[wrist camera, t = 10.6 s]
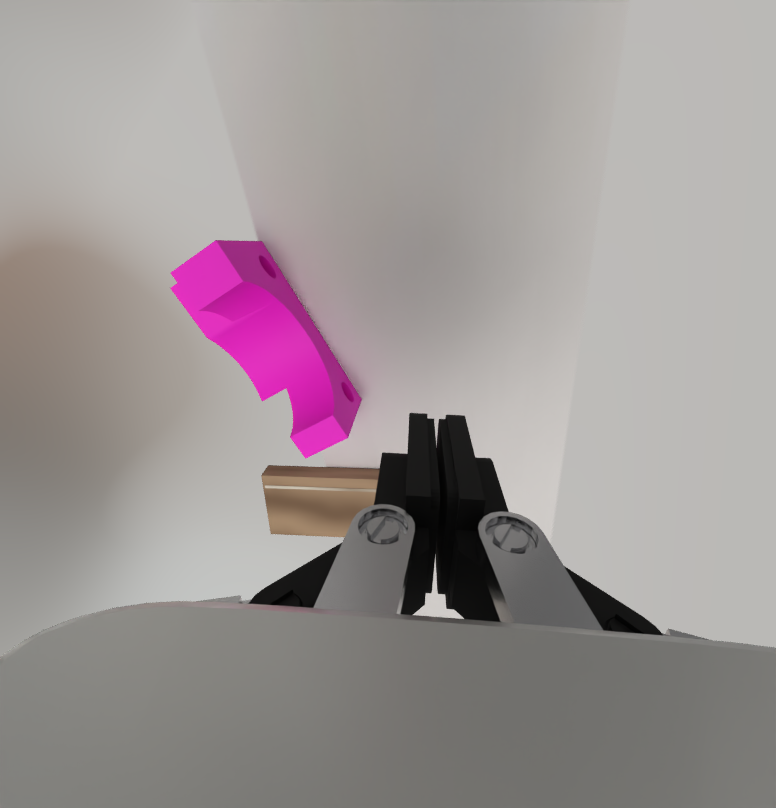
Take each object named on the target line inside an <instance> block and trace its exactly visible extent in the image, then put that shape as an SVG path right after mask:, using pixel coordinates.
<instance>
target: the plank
mask: <svg viewBox="0 0 776 808" xmlns="http://www.w3.org/2000/svg"><path fill="white" fill-rule="evenodd" d="M379 470H380V469H364V468H334V467H303V466H301V467H300V466H273V465H269V466H268V467H267V468H266V470H265V471H264V473H263V474H262V482H263V488H264V494H265V500H266V506H267V513H268V519H269V525H270V531H271V534H285V535H306V536H329V537H345V536H346V533H347V531H348V529H349V527H350V524H351V522H352V520H353V518H354V517H355V516H356V514H357V513H358V512H360V511H361V510H362V509H364V508H367V507H369V506H372V505H374V501H375V495H376V489H377V482H378V476H379Z"/></svg>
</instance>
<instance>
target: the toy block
mask: <svg viewBox="0 0 776 808" xmlns="http://www.w3.org/2000/svg"><path fill="white" fill-rule="evenodd" d="M171 274H172V276H173V277H174V278H175V280H176V281H177V284H176V285H174V286H173V287H172V288H171V290H172V291H173V292H174V294H175V295H176V297H177V298H178V299H179V301H180V302H181V303H182V305H183V306H184V307H185V308H186V310H187V311H188V313H189V314H190V316H191V317H192V318H193V320H194V321H195V322H196V324H197V325H198V326H199V328H200V329H201V330H202V332H203V333H204V334H205V336H206V337H207V338H208V339H210V340H211V341H213V342H215V343H216V344H218V345H219V346H220V347H222V348H223V349H224V350H225V351H227V352H228V353H229V354H230V355H231V356H232V357H233V358H234V359H235V360H236V361H237V362H238V363H239V364H240V366H241V367H242V368H243V369H244V370H245V372H246V373H247V374H248V376H249V378H250V379H251V381H252V382H253V384H254V386H255V387H256V389H257V391H258V393H259V396H260V398H261V400H262V401H264V400H266V399H267V398H269V397H271V396H273V395H275V394H276V393H278V392H280V391H282V390H284V389H286V388H287V391H288V394H289V397H290V401H291V405H292V410H293V429H292V433H291V436H290V438H291V439H292V440H293V442H294V443H295V444H296V446H297V447H298V449H299V450H300V451H301V453H302V454H303V456H304V457H305V458H308V457H310V456H312V455H314V454H316V453H318V452H320V451H322V450H324V449H326V448H328V447H330V446H332V445H334V444H336V443H338V442H340V441H342V440H344V439H347V438H348V436H349V433H350V431H351V428H352V425H353V422H354V419H355V417H356V414H357V411H358V408H359V405H360V403H361V400H362V399H361V398H360V396H359V395H358V393H357V391H356V390H355V388H354V387H353V385H352V383H351V382H350V380H349V379H348V377H347V376H346V374H345V372H344V371H343V369H342V368H341V366H340V364H339V363H338V361H337V360H336V358H335V357H334V355H333V353H332V352H331V350H330V349H329V347H328V345H327V344H326V342H325V341H324V339H323V337H322V336H321V334H320V333H319V331H318V330H317V328H316V326H315V325H314V323H313V322H312V320H311V318H310V317H309V315H308V314H307V312H306V310H305V309H304V307H303V306H302V304H301V303H300V301H299V299H298V298H297V296H296V295H295V293H294V291H293V290H292V288H291V287H290V285H289V284H288V282H287V280H286V279H285V277H284V276H283V274H282V272H281V271H280V269H279V268H278V266H277V264H276V263H275V261H274V260H273V258H272V257H271V255H270V253H269V252H268V250H267V249H266V247H265V245H264V244H263V242H262V241H222V240H216V241H214V242H213V243H211V244H210V245H209V246H207V247H206V248H204V249H203V250H202V251H200V252H199V253H197V254H196V255H195V256H193V257H192V258H191V259H189V260H188V261H186V262H185V263H184V264H182V265H181V266H179V267H178V268H177V269H176V270H174V271H172V272H171Z"/></svg>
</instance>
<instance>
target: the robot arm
mask: <svg viewBox="0 0 776 808" xmlns="http://www.w3.org/2000/svg"><path fill="white" fill-rule="evenodd" d="M435 554H436V572H437V590H438V594H445V596H446V609H454V610H456V611H457V612H458V613H459V614H460V615H461V616H462V617H463V618H464V619H455V618H442V617H429V616H416V615H413V614H414V613H415V612H416V611H418V610H419V609H420V608H421V607H422V606H424V605H425V594H426V593H431V592H432V583H433V572H434V562H435ZM0 808H776V648H774V647H765V646H757V645H750V644H743V643H733V642H724V641H713V640H708V639H705V638H701V637H697V636H694V635H690V634H686V633H682V632H679V631H675V630H671V629H668V630H667V632H666V634H662V633H661V632H660V631H659V630H658V629H657V628H656V627H655V626H654V625H653V624H652V623H650V622H649V621H648V620H646V619H645V618H644V617H643V616H641V615H639V614H638V613H636V612H635V611H633V610H632V609H630V608H629V607H627V606H625V605H624V604H622V603H621V602H619V601H617V600H616V599H614V598H613V597H611V596H610V595H608V594H607V593H605V592H604V591H602V590H600V589H599V588H597V587H596V586H594V585H593V584H591V583H590V582H588V581H586V580H585V579H583V578H582V577H580V576H579V575H577V574H575V573H574V572H572V571H571V570H569V569H568V568H566V567H565V566H563V564H562V562H561V561H560V559H559V558H558V556H557V554H556V553H555V551H554V550H553V548H552V546H551V544H550V543H549V541H548V540H547V538H546V536H545V535H544V533H543V532H542V530H541V529H540V528H539V527H538V526H537V525H536V524H535V523H534V522H532V521H531V520H529V519H528V518H526V517H523V516H521V515H519V514H515V513H511V512H508V508H507V505H506V502H505V499H504V496H503V493H502V490H501V487H500V483H499V480H498V477H497V474H496V471H495V468H494V465H493V462H492V460H491V459H490V458H475V455H474V451H473V447H472V443H471V439H470V435H469V431H468V427H467V423H466V419H465V416H460V415H446V419H439V424H438V436H437V448H436V438H435V426H434V419H427V414H418V413H410V415H409V436H408V454H399V453H382V457H381V464H380V470H379V476H378V482H377V489H376V495H375V501H374V505H372V506H369V507H367V508H364V509H362V510H361V511H360V512H358V513H357V514H356V516H355V517H354V518H353V520H352V522H351V524H350V527H349V529H348V531H347V533H346V536H345V538H344V540H343V542H342V543H341V544H339V545H337V546H336V547H334V548H332V549H330V550H329V551H327V552H325V553H324V554H322V555H320V556H318V557H317V558H315V559H313V560H312V561H310V562H308V563H307V564H305V565H303V566H301V567H300V568H298V569H296V570H295V571H293V572H291V573H289V574H288V575H286V576H284V577H283V578H281V579H279V580H277V581H276V582H274V583H272V584H271V585H269V586H267V587H266V588H264V589H263V590H261V591H260V592H259V593H257V594H256V595H255V596H254V597H253V598H252V600H246V601H242V600H241V596H234V597H226V598H218V599H211V600H203V601H196V602H188V601H175V602H156V603H144V604H137V605H131V606H124V607H116V608H112V609H108V610H104V611H100V612H96V613H92V614H88V615H84V616H80V617H77V618H74V619H71V620H68V621H65V622H63V623H60V624H57V625H55V626H52V627H50V628H48V629H45V630H43V631H41V632H39V633H37V634H35V635H33V636H31V637H29V638H28V639H26V640H24V641H22V642H21V643H20V644H18V645H17V646H15V647H14V648H12V649H11V650H9V651H8V652H6V653H5V654H4V655H3V656H1V657H0Z"/></svg>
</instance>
